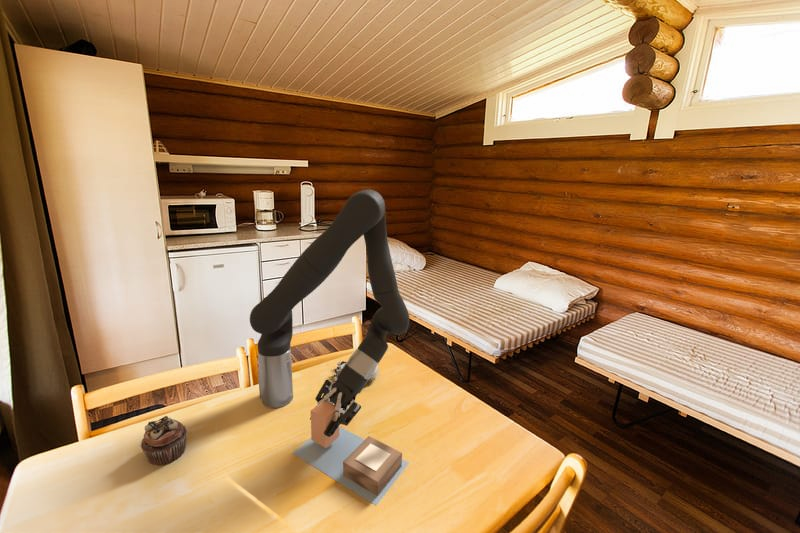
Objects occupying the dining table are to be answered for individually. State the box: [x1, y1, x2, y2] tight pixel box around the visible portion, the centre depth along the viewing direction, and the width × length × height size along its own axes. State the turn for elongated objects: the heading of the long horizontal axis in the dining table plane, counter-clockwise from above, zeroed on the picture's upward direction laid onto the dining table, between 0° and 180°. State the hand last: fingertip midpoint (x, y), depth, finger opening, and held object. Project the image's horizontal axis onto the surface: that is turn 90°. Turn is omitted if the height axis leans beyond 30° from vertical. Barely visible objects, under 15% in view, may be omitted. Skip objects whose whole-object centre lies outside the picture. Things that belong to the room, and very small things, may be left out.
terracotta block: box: [310, 401, 340, 448], centre depth 93 cm, size 5×5×9 cm
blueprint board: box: [292, 425, 410, 506], centre depth 90 cm, size 26×14×1 cm, turn 58°
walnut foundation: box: [343, 435, 403, 496], centre depth 86 cm, size 10×10×4 cm
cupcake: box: [140, 415, 188, 467], centre depth 89 cm, size 10×10×10 cm
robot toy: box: [333, 361, 379, 382], centre depth 126 cm, size 12×4×15 cm
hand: (319, 427), depth 92 cm, fingers closed on terracotta block, 6 cm apart
